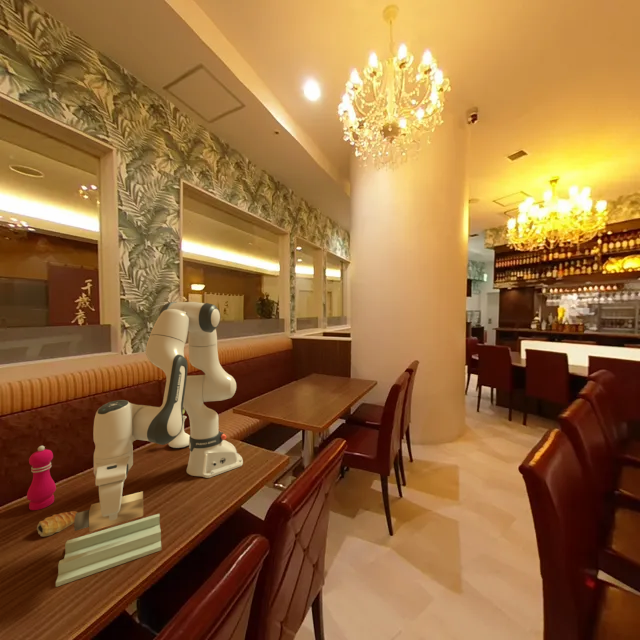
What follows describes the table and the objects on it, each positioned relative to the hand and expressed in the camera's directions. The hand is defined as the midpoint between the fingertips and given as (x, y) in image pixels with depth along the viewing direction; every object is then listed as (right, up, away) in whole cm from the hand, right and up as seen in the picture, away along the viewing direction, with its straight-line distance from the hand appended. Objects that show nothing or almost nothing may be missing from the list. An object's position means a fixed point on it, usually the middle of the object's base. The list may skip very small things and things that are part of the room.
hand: (114, 512), depth 82 cm
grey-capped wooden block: (-1, -2, 0) cm, 2 cm away
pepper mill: (-38, -10, +20) cm, 44 cm away
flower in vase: (-13, -10, +66) cm, 68 cm away
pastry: (-24, -11, +9) cm, 27 cm away
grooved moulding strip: (0, -10, 0) cm, 10 cm away
